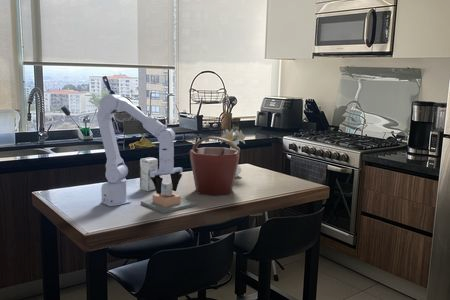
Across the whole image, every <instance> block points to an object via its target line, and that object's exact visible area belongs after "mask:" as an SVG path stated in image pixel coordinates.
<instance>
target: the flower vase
mask: <svg viewBox="0 0 450 300" xmlns="http://www.w3.org/2000/svg"><path fill="white" fill-rule="evenodd" d="M222 130H223V129H222ZM222 133H223V134H221V137H220V138H224V139H227V140H230V141H232V142H233V143H234V144H235V145H236V146H238V145H239V144H240V142H242V143H243V144H246V142H245V139H246V135H245V134H244V133H243V132H242V129H240V130H238V129H236V130H235V131H234V129H233V128H232V129H231V130H229V129H227V128H226V129H225V130H223V131H222ZM220 141H221V140H220ZM220 144H223V141H221V142H220ZM225 144H227V145H229V144H228V143H226V142H225ZM229 146H230V145H229ZM229 149H234V148H232V147H231V146H230V147H229ZM234 150H237V149H234ZM242 171H243V170H242V167H241V166H240V165H239V164H238V166H237V170H236V175H235V178H238V177H239V175H241V173H242Z"/></svg>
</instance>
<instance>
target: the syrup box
mask: <svg viewBox="0 0 450 300" xmlns="http://www.w3.org/2000/svg"><path fill="white" fill-rule="evenodd" d="M158 159H159V158H155V157H145V158H143V157H142V158H140V160H139V189H140V191H144V192H151V191H156V189H155V186H154V183H153V181H152V179H151V177H150V172H151V171H155V170H158V169H159V166H158V164H159V162H158V161H159V160H158Z"/></svg>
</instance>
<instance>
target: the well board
mask: <svg viewBox="0 0 450 300" xmlns="http://www.w3.org/2000/svg"><path fill="white" fill-rule="evenodd" d="M140 205H142V206H145V207H147V208H149V209H152V210H154V211H157V212H160V213H163V214H168V213H170V212H175V211H181V210H184V209H188V208H193V207H197V202H196V201H195V202H194V201H193V200H189V199H186V198H183V197H181V195H178V194H175V193H174V192H172V197H167V198H165V197H162V196H160V194H157V193H154V194H152V198H151V199H145V200H141V201H140Z"/></svg>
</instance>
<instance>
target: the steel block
mask: <svg viewBox="0 0 450 300" xmlns="http://www.w3.org/2000/svg"><path fill="white" fill-rule="evenodd" d="M172 193H173V190H172V182H168V181H162V184H161V194H160V196H162V197H165V198H167V197H172Z"/></svg>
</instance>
